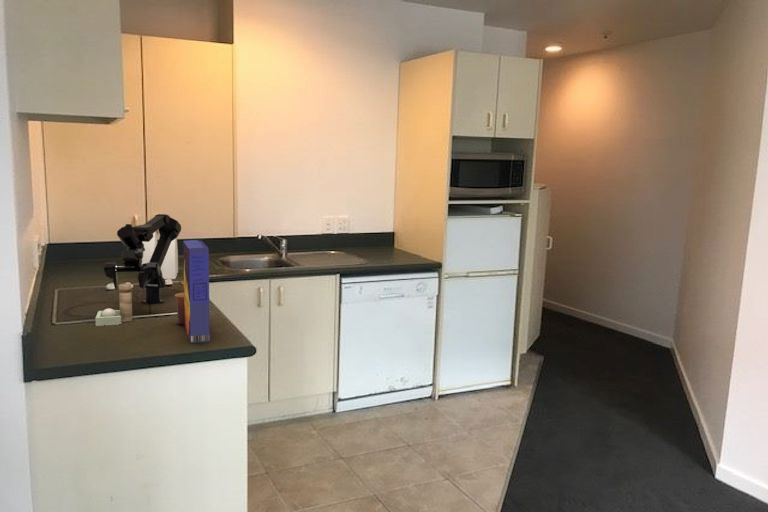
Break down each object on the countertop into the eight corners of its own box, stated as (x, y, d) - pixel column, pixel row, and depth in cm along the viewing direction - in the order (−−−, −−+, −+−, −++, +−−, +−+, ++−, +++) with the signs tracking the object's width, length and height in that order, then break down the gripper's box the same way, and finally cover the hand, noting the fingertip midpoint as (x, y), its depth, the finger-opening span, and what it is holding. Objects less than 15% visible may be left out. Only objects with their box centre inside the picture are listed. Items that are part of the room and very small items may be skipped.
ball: (116, 305, 216) (120, 317, 216) (104, 308, 216) (108, 320, 217) (109, 308, 211) (113, 321, 212) (97, 311, 212) (101, 324, 212)
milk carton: (146, 273, 316) (145, 225, 313) (178, 272, 320) (177, 225, 317) (142, 279, 298) (140, 228, 295) (175, 279, 302) (174, 228, 299)
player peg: (119, 320, 217) (117, 284, 215) (131, 318, 219) (130, 283, 217) (120, 322, 213) (119, 286, 211) (133, 321, 215) (132, 285, 214)
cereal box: (184, 326, 210) (183, 240, 206) (202, 325, 212) (201, 239, 208) (189, 343, 190) (188, 247, 186) (209, 341, 192) (208, 247, 188)
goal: (98, 318, 218) (98, 310, 217) (123, 317, 220) (122, 309, 220) (95, 326, 208) (95, 317, 207) (121, 324, 210) (120, 316, 210)
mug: (184, 327, 209) (183, 298, 207) (170, 323, 214) (169, 294, 213) (214, 321, 218) (214, 293, 216) (200, 317, 223) (199, 290, 222)
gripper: (103, 241, 222) (96, 276, 213) (157, 241, 225) (153, 275, 216) (109, 259, 231) (103, 293, 221) (161, 259, 234) (157, 293, 225)
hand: (129, 288), depth 221 cm, fingers open, 9 cm apart
